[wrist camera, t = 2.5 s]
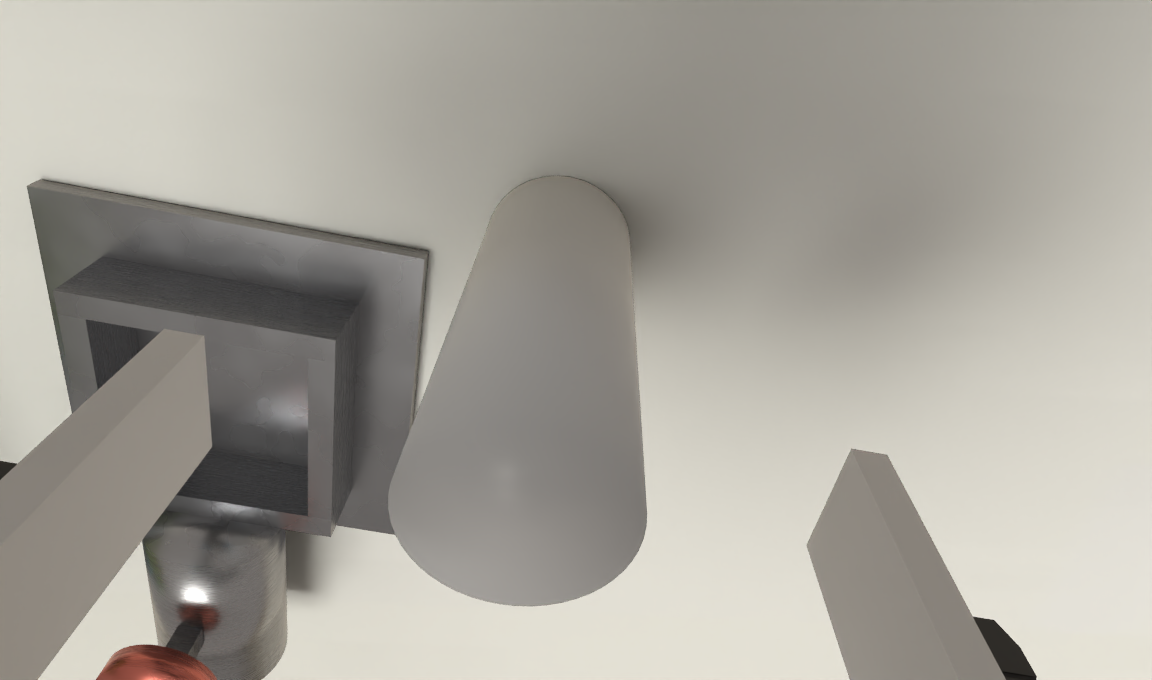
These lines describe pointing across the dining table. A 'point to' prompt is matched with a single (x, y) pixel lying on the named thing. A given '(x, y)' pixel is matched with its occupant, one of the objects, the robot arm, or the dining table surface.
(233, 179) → the dining table surface
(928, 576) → the robot arm
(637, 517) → the pipe
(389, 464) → the grey knobbed block
